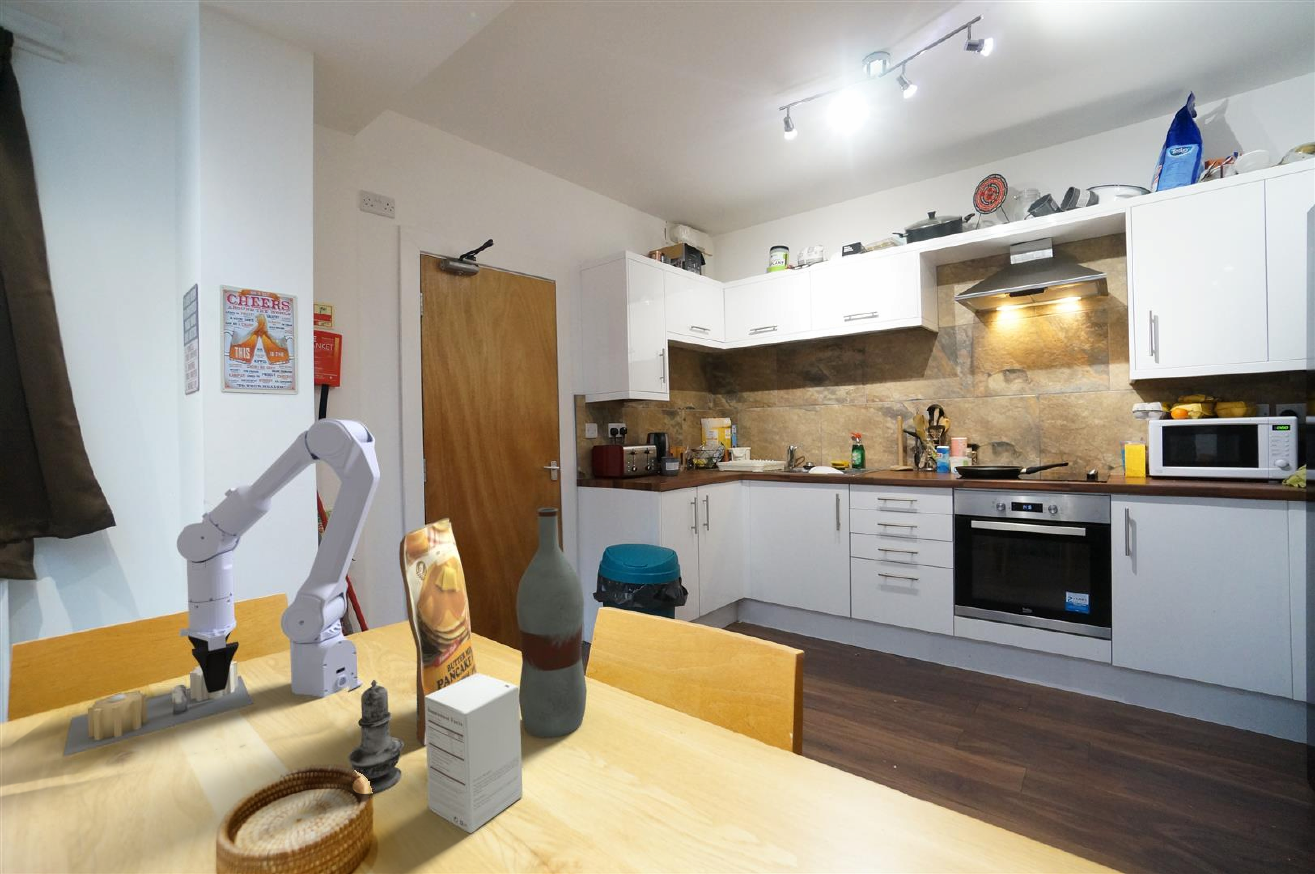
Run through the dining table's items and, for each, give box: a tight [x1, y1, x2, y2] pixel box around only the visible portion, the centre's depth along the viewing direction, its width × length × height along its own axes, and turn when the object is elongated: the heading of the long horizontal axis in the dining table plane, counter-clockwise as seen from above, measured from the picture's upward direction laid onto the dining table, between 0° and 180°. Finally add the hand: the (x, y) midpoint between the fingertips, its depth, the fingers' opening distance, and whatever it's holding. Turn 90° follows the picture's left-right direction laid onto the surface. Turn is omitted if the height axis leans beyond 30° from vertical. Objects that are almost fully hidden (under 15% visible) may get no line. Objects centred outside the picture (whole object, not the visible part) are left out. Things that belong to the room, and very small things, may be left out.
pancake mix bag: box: [398, 517, 478, 747], centre depth 83 cm, size 7×19×28 cm, turn 174°
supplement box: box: [425, 672, 524, 834], centre depth 63 cm, size 7×7×13 cm
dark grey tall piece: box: [348, 679, 404, 795], centre depth 68 cm, size 6×6×12 cm
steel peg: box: [171, 684, 187, 715], centre depth 85 cm, size 2×2×4 cm
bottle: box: [515, 507, 588, 739], centre depth 81 cm, size 9×9×30 cm
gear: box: [189, 660, 239, 701], centre depth 91 cm, size 6×6×4 cm
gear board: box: [62, 675, 254, 757], centre depth 85 cm, size 20×14×6 cm
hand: (214, 682), depth 91 cm, fingers open, 7 cm apart
